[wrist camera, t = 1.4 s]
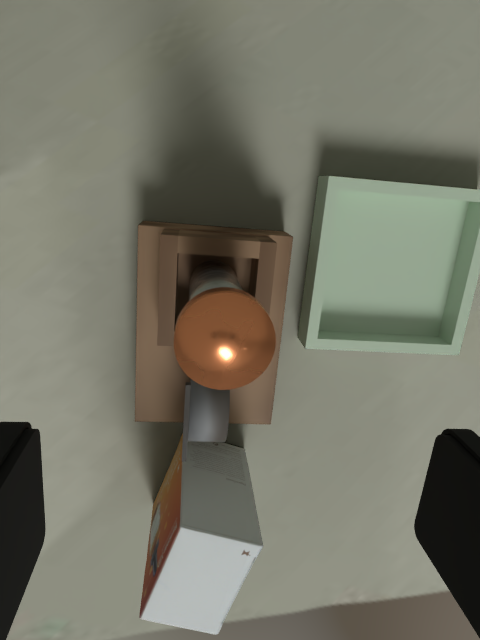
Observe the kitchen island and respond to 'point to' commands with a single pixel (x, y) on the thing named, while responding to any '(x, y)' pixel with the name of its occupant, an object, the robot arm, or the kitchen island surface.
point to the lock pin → (222, 330)
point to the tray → (390, 267)
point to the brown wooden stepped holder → (169, 299)
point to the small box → (200, 538)
